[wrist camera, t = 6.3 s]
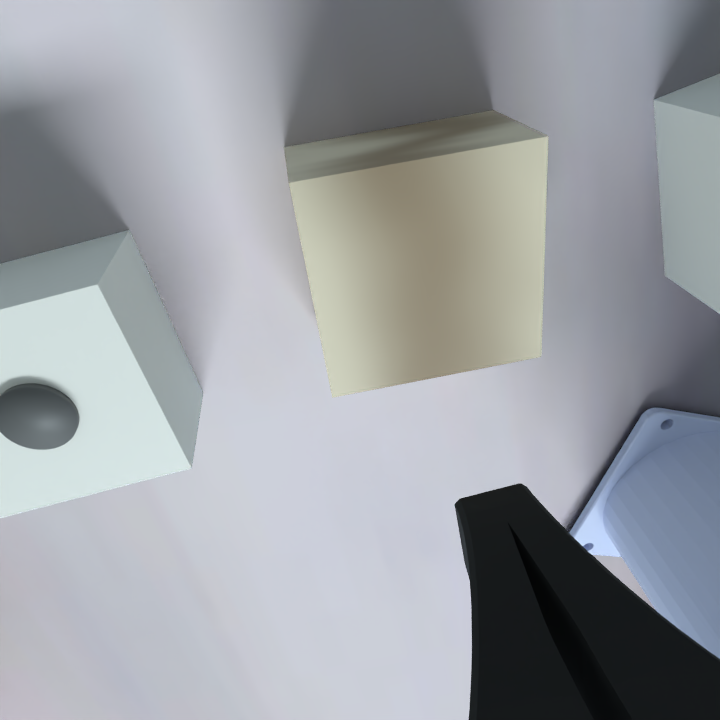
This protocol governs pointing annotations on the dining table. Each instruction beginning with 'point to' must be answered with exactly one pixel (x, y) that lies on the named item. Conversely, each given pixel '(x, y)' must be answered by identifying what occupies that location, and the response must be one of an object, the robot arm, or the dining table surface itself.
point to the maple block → (423, 247)
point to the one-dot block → (89, 376)
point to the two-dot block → (691, 187)
